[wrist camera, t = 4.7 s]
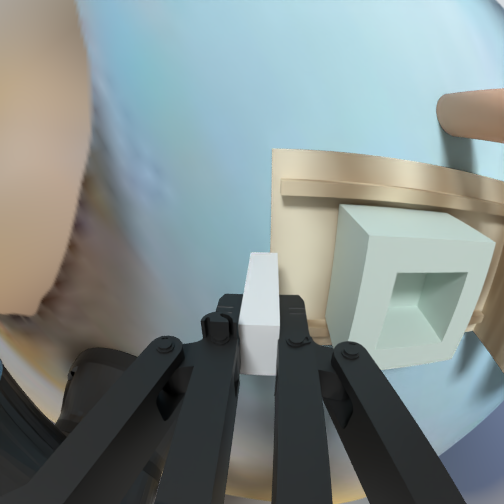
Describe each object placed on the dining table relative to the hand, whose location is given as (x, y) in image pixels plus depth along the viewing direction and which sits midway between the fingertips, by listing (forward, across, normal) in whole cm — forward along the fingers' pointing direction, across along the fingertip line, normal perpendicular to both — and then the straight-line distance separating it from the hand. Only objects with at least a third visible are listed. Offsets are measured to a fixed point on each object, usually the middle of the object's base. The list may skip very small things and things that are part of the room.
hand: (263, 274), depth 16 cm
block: (+2, +8, 0) cm, 8 cm away
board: (+3, +11, 0) cm, 12 cm away
